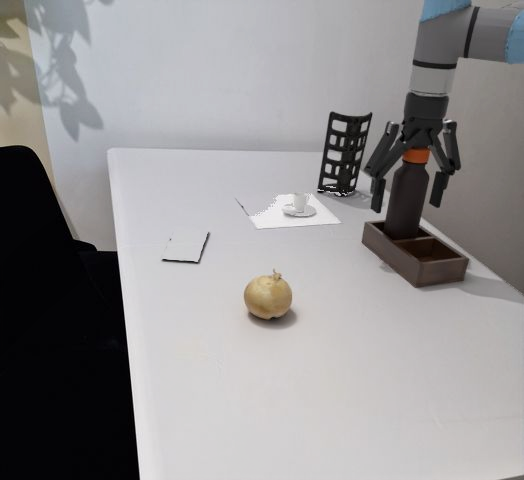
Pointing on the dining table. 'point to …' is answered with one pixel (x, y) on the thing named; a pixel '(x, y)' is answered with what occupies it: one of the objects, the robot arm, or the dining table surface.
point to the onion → (268, 296)
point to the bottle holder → (417, 256)
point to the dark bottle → (407, 195)
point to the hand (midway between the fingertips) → (405, 208)
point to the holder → (344, 152)
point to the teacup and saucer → (293, 212)
